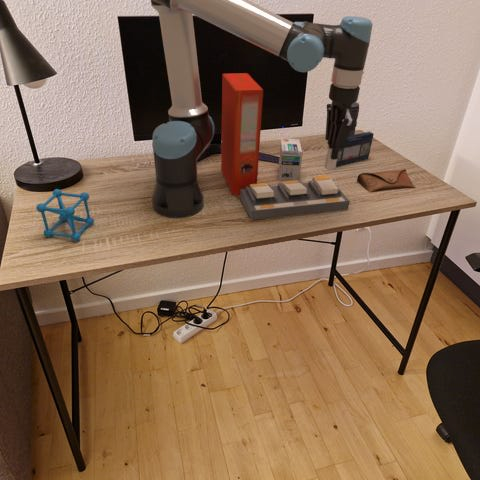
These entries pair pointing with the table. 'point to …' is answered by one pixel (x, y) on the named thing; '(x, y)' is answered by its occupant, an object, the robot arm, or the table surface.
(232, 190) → the file binder
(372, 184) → the sunglasses case
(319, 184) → the switch right
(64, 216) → the molecular structure
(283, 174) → the light bulb box
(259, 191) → the switch left
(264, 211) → the switch unit
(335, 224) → the table surface
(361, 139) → the vhs cassette tape
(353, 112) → the camera lens
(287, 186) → the switch middle
